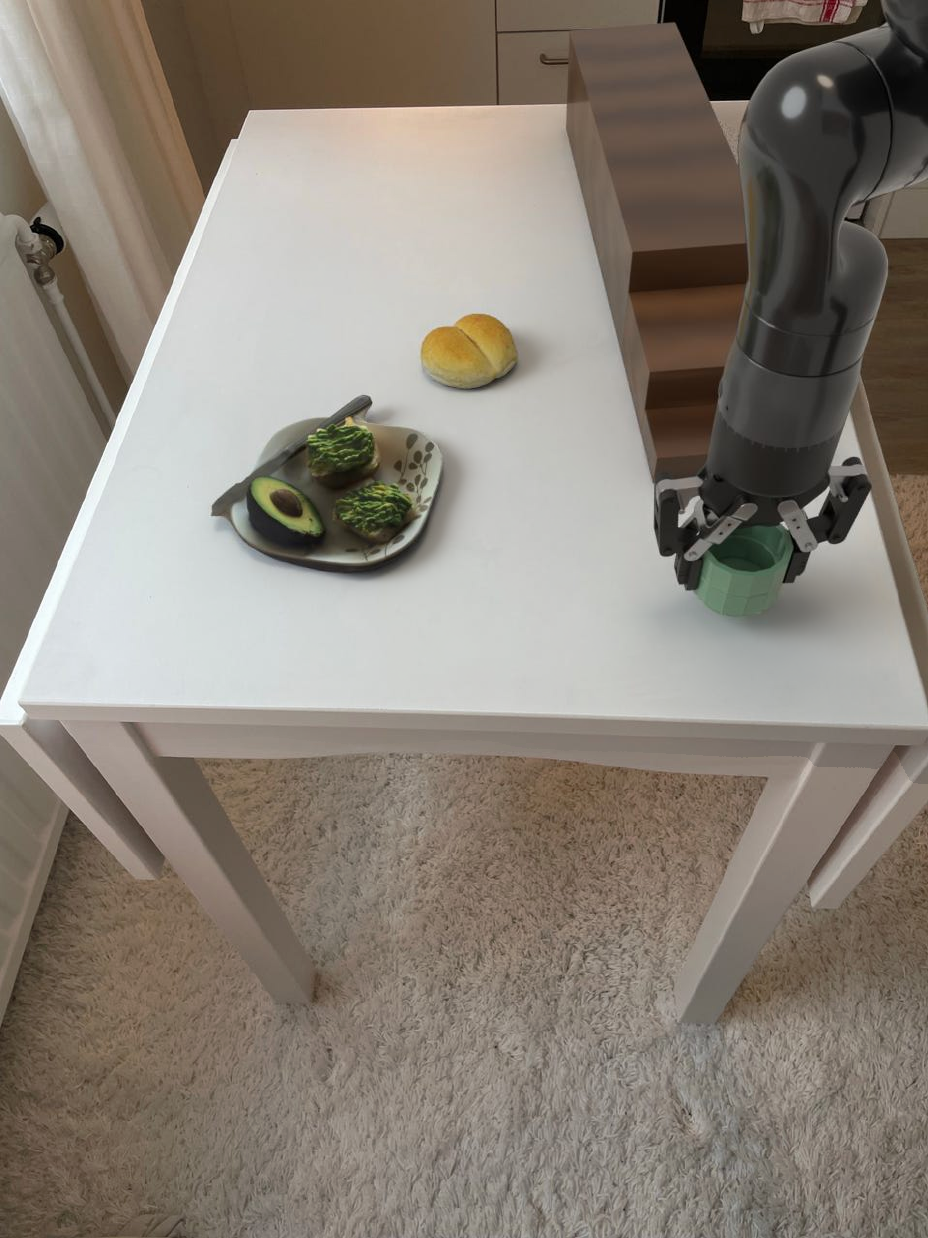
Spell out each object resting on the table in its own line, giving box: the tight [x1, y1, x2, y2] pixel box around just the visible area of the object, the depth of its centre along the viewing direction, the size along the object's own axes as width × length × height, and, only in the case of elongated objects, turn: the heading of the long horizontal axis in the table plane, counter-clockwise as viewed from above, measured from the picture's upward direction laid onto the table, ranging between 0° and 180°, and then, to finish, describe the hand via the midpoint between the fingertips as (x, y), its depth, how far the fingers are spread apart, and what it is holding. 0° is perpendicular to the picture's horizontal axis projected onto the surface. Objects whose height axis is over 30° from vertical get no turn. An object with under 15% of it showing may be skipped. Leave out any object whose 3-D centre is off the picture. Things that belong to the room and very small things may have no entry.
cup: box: [692, 517, 794, 618], centre depth 69 cm, size 6×6×5 cm
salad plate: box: [210, 394, 445, 574], centre depth 80 cm, size 19×18×5 cm
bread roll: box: [420, 313, 519, 390], centre depth 90 cm, size 8×9×4 cm
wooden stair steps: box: [565, 21, 748, 484], centre depth 94 cm, size 61×12×11 cm, turn 3°
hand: (736, 577), depth 70 cm, fingers closed on cup, 6 cm apart
